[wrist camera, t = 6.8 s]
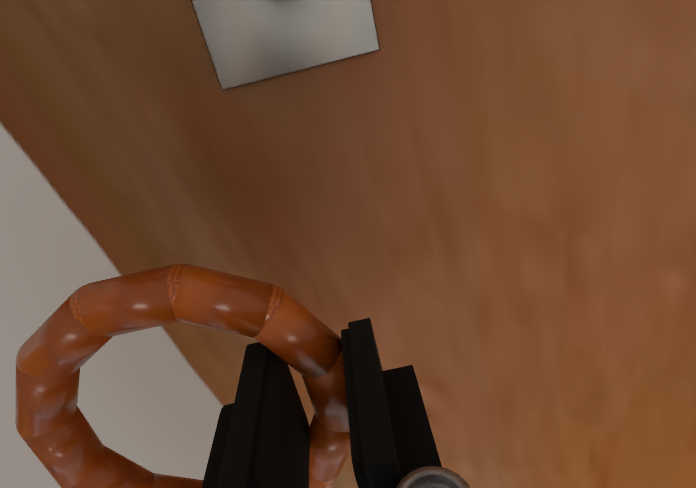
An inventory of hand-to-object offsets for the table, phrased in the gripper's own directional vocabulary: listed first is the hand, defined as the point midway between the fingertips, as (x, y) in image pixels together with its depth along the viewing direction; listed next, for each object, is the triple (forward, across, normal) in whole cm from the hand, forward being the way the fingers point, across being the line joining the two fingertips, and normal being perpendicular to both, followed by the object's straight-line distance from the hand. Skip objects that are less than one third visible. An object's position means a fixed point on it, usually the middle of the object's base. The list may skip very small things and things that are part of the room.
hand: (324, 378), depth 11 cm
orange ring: (0, +3, 0) cm, 3 cm away
